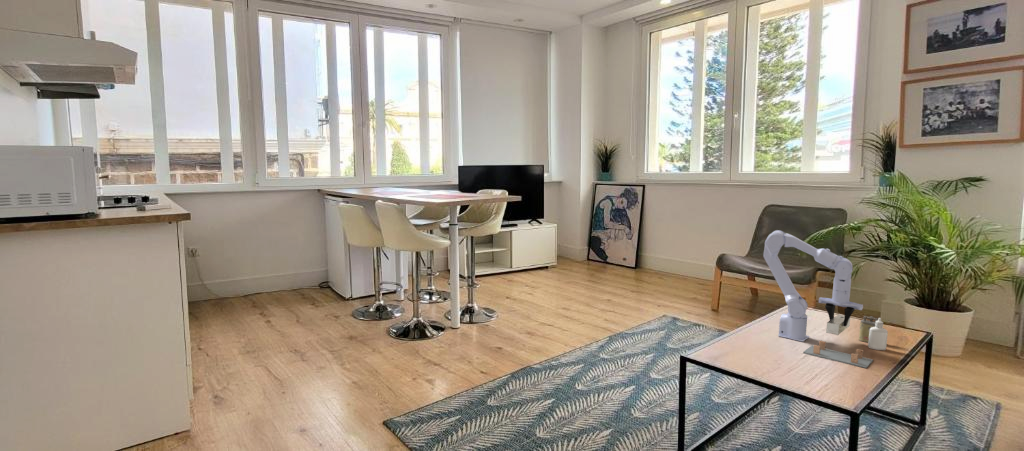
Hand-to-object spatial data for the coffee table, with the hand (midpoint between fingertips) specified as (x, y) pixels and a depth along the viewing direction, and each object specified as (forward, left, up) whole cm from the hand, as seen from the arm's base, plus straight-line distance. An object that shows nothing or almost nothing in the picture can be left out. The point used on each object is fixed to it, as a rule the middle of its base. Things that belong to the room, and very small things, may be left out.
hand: (838, 324), depth 206 cm
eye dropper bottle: (+12, +6, -8) cm, 16 cm away
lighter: (+8, +13, -8) cm, 17 cm away
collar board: (+4, -15, -8) cm, 18 cm away
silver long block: (0, 0, -2) cm, 2 cm away
